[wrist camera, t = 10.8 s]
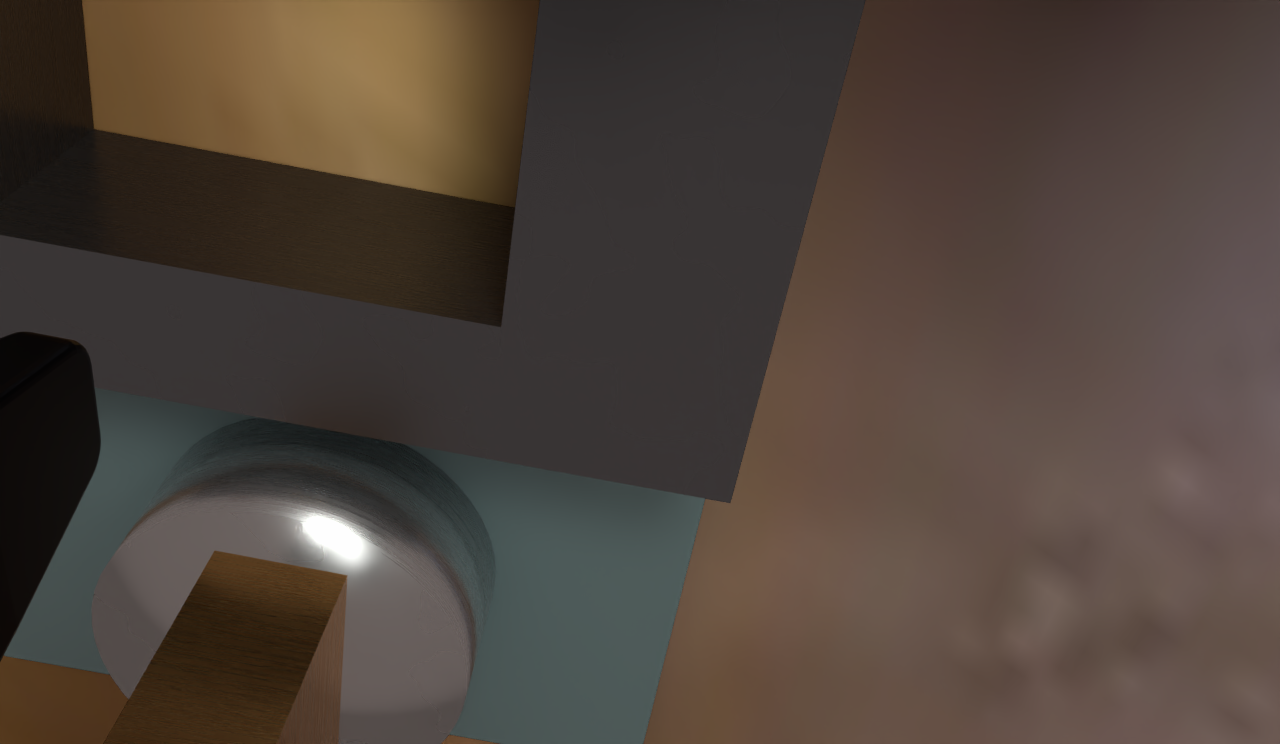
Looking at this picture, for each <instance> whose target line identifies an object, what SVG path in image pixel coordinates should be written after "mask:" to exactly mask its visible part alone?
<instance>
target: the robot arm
mask: <svg viewBox="0 0 1280 744" xmlns="http://www.w3.org/2000/svg"><path fill="white" fill-rule="evenodd" d="M100 449H101V433H100V426H99V418H98V410H97V402H96V394H95V387H94V379H93V371H92V364H91V360H90V356H89V354H88V352H87V350H86V348H85V347H84V346H83V345H81V344H80V343H79V342H77V341H75V340H71V339H65V338H60V337H55V336H49V335H44V334H39V333H33V332H16V333H13V334H10V335H7V336H4V337H2V338H0V661H1V659H2V657H3V656H4V654H5V652H6V650H7V648H8V646H9V644H10V642H11V641H12V639H13V637H14V635H15V633H16V631H17V629H18V627H19V625H20V623H21V621H22V619H23V617H24V615H25V613H26V611H27V609H28V607H29V605H30V603H31V601H32V599H33V597H34V595H35V593H36V591H37V589H38V587H39V584H40V582H41V580H42V578H43V576H44V574H45V572H46V570H47V568H48V566H49V564H50V562H51V560H52V558H53V556H54V554H55V552H56V550H57V548H58V546H59V544H60V542H61V540H62V538H63V536H64V534H65V532H66V530H67V528H68V526H69V524H70V521H71V519H72V517H73V515H74V513H75V511H76V509H77V507H78V505H79V503H80V501H81V499H82V497H83V495H84V493H85V491H86V489H87V487H88V485H89V483H90V481H91V479H92V477H93V474H94V472H95V470H96V467H97V464H98V460H99V455H100Z"/></svg>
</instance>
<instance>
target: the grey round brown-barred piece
mask: <svg viewBox="0 0 1280 744" xmlns="http://www.w3.org/2000/svg"><path fill="white" fill-rule="evenodd" d="M495 580H496V564H495V555H494V550H493V546H492V543H491V539H490V536H489V533H488V531H487V529H486V527H485V524H484V522H483V520H482V518H481V516H480V515H479V513H478V511H477V510H476V508H475V507H474V505H473V504H472V502H471V500H470V499H469V498H468V497H467V496H466V494H465V493H464V492H463V491H462V490H461V488H460V487H459V486H458V485H457V484H456V483H455V482H454V481H453V480H452V479H451V478H450V477H449V476H448V475H447V474H446V473H445V472H444V471H443V470H442V469H440V468H439V467H438V466H436V465H435V464H434V463H433V462H431V461H430V460H429V459H427V458H426V457H425V456H423V455H422V454H420V453H419V452H417V451H415V450H414V449H412V448H410V447H409V446H407V445H405V444H402V443H397V442H391V441H386V440H380V439H375V438H369V437H364V436H358V435H353V434H347V433H342V432H336V431H331V430H325V429H320V428H314V427H309V426H303V425H298V424H292V423H287V422H281V421H276V420H270V419H265V418H259V417H256V418H251V419H246V420H242V421H239V422H236V423H233V424H230V425H227V426H224V427H222V428H220V429H218V430H216V431H214V432H212V433H210V434H208V435H207V436H205V437H203V438H202V439H201V440H199V441H198V442H197V443H195V444H194V445H193V446H191V447H190V448H189V449H188V450H187V451H186V452H185V453H184V454H183V455H182V456H181V457H180V458H179V460H178V461H177V462H176V464H175V465H174V467H173V468H172V470H171V471H170V473H169V474H168V476H167V477H166V478H165V480H164V481H163V483H162V484H161V486H160V487H159V489H158V490H157V492H156V493H155V495H154V496H153V498H152V499H151V500H150V502H149V503H148V505H147V506H146V508H145V509H144V511H143V512H142V514H141V515H140V517H139V518H138V520H137V521H136V523H135V524H134V525H133V527H132V528H131V530H130V531H129V533H128V534H127V536H126V537H125V539H124V540H123V542H122V543H121V545H120V546H119V548H118V549H117V550H116V552H115V553H114V555H113V556H112V558H111V559H110V561H109V562H108V564H107V565H106V567H105V568H104V570H103V572H102V573H101V575H100V577H99V580H98V582H97V585H96V587H95V590H94V595H93V601H92V607H91V611H92V628H93V633H94V638H95V643H96V645H97V648H98V651H99V654H100V656H101V659H102V661H103V663H104V665H105V666H106V668H107V670H108V672H109V674H110V676H111V677H112V679H113V680H114V681H115V683H116V684H117V686H118V687H119V688H120V690H121V691H122V692H123V694H124V695H125V696H126V697H127V698H128V699H129V700H128V702H127V703H126V705H125V707H124V709H123V710H122V712H121V714H120V716H119V717H118V719H117V721H116V723H115V724H114V726H113V728H112V730H111V731H110V733H109V735H108V736H107V738H106V740H105V742H104V743H103V744H441V743H442V742H443V741H444V740H445V739H446V738H447V736H448V735H449V734H450V732H451V731H452V729H453V728H454V726H455V725H456V723H457V721H458V719H459V716H460V714H461V712H462V710H463V706H464V702H465V699H466V695H467V691H468V687H469V684H470V680H471V676H472V672H473V669H474V665H475V661H476V657H477V653H478V650H479V646H480V642H481V638H482V635H483V631H484V627H485V623H486V620H487V616H488V612H489V608H490V605H491V601H492V597H493V592H494V588H495Z"/></svg>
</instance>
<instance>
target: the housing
mask: <svg viewBox="0 0 1280 744" xmlns="http://www.w3.org/2000/svg"><path fill="white" fill-rule="evenodd" d="M865 1H866V0H540V3H539V12H538V20H537V29H536V37H535V46H534V54H533V62H532V71H531V79H530V88H529V96H528V105H527V113H526V122H525V130H524V139H523V147H522V156H521V164H520V172H519V181H518V189H517V198H516V206H515V208H512V207H507V206H502V205H496V204H491V203H486V202H480V201H475V200H469V199H464V198H459V197H453V196H448V195H443V194H437V193H432V192H427V191H421V190H416V189H411V188H405V187H400V186H394V185H389V184H384V183H378V182H373V181H368V180H362V179H357V178H352V177H346V176H341V175H336V174H330V173H325V172H319V171H314V170H309V169H303V168H298V167H293V166H287V165H282V164H277V163H271V162H266V161H261V160H255V159H250V158H245V157H239V156H234V155H228V154H223V153H218V152H212V151H207V150H202V149H196V148H191V147H186V146H180V145H175V144H170V143H164V142H159V141H153V140H148V139H143V138H137V137H132V136H127V135H121V134H116V133H111V132H105V131H100V130H95V129H93V119H92V108H91V97H90V87H89V76H88V65H87V55H86V44H85V34H84V23H83V12H82V2H81V0H0V338H2V337H4V336H7V335H10V334H13V333H16V332H33V333H39V334H44V335H49V336H55V337H60V338H65V339H71V340H75V341H77V342H79V343H80V344H81V345H83V346H84V347H85V348H86V350H87V352H88V354H89V356H90V360H91V364H92V371H93V379H94V387H95V388H100V389H105V390H111V391H116V392H122V393H127V394H133V395H138V396H144V397H149V398H155V399H160V400H166V401H171V402H177V403H182V404H188V405H193V406H199V407H204V408H210V409H215V410H221V411H226V412H232V413H237V414H243V415H248V416H254V417H259V418H265V419H270V420H276V421H281V422H287V423H292V424H298V425H303V426H309V427H314V428H320V429H325V430H331V431H336V432H342V433H347V434H353V435H358V436H364V437H369V438H375V439H380V440H386V441H391V442H397V443H402V444H408V445H413V446H419V447H424V448H430V449H435V450H441V451H446V452H452V453H457V454H463V455H468V456H474V457H479V458H485V459H490V460H496V461H501V462H507V463H512V464H518V465H523V466H529V467H534V468H540V469H545V470H551V471H556V472H562V473H567V474H573V475H578V476H584V477H589V478H595V479H600V480H606V481H611V482H617V483H622V484H628V485H633V486H639V487H644V488H650V489H655V490H661V491H666V492H672V493H677V494H683V495H688V496H694V497H699V498H705V499H710V500H716V501H721V502H727V503H730V502H731V499H732V495H733V491H734V488H735V484H736V480H737V476H738V473H739V469H740V465H741V462H742V458H743V454H744V450H745V447H746V443H747V439H748V436H749V432H750V428H751V424H752V421H753V417H754V413H755V410H756V406H757V402H758V398H759V395H760V391H761V387H762V383H763V380H764V376H765V372H766V369H767V365H768V361H769V357H770V354H771V350H772V346H773V343H774V339H775V335H776V331H777V328H778V324H779V320H780V317H781V313H782V309H783V305H784V302H785V298H786V294H787V291H788V287H789V283H790V279H791V276H792V272H793V268H794V265H795V261H796V257H797V253H798V250H799V246H800V242H801V238H802V235H803V231H804V227H805V224H806V220H807V216H808V212H809V209H810V205H811V201H812V198H813V194H814V190H815V186H816V183H817V179H818V175H819V172H820V168H821V164H822V160H823V157H824V153H825V149H826V146H827V142H828V138H829V134H830V131H831V127H832V123H833V120H834V116H835V112H836V108H837V105H838V101H839V97H840V93H841V90H842V86H843V82H844V79H845V75H846V71H847V67H848V64H849V60H850V56H851V53H852V49H853V45H854V41H855V38H856V34H857V30H858V27H859V23H860V19H861V15H862V12H863V8H864V4H865Z"/></svg>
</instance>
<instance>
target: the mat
mask: <svg viewBox="0 0 1280 744" xmlns="http://www.w3.org/2000/svg"><path fill="white" fill-rule="evenodd" d="M95 394H96V402H97V410H98V418H99V426H100V433H101V449H100V455H99V460H98V464H97V467H96V470H95V472H94V474H93V477H92V479H91V481H90V483H89V485H88V487H87V489H86V491H85V493H84V495H83V497H82V499H81V501H80V503H79V505H78V507H77V509H76V511H75V513H74V515H73V517H72V519H71V521H70V524H69V526H68V528H67V530H66V532H65V534H64V536H63V538H62V540H61V542H60V544H59V546H58V548H57V550H56V552H55V554H54V556H53V558H52V560H51V562H50V564H49V566H48V568H47V570H46V572H45V574H44V576H43V578H42V580H41V582H40V584H39V587H38V589H37V591H36V593H35V595H34V597H33V599H32V601H31V603H30V605H29V607H28V609H27V611H26V613H25V615H24V617H23V619H22V621H21V623H20V625H19V627H18V629H17V631H16V633H15V635H14V637H13V639H12V641H11V642H10V644H9V646H8V648H7V650H6V652H5V654H4V656H8V657H13V658H19V659H25V660H30V661H36V662H42V663H47V664H53V665H59V666H64V667H70V668H76V669H81V670H87V671H93V672H98V673H104V674H109V672H108V670H107V668H106V666H105V665H104V663H103V661H102V659H101V656H100V654H99V651H98V648H97V645H96V643H95V638H94V633H93V628H92V611H91V607H92V601H93V595H94V590H95V587H96V585H97V582H98V580H99V577H100V575H101V573H102V572H103V570H104V568H105V567H106V565H107V564H108V562H109V561H110V559H111V558H112V556H113V555H114V553H115V552H116V550H117V549H118V548H119V546H120V545H121V543H122V542H123V540H124V539H125V537H126V536H127V534H128V533H129V531H130V530H131V528H132V527H133V525H134V524H135V523H136V521H137V520H138V518H139V517H140V515H141V514H142V512H143V511H144V509H145V508H146V506H147V505H148V503H149V502H150V500H151V499H152V498H153V496H154V495H155V493H156V492H157V490H158V489H159V487H160V486H161V484H162V483H163V481H164V480H165V478H166V477H167V476H168V474H169V473H170V471H171V470H172V468H173V467H174V465H175V464H176V462H177V461H178V460H179V458H180V457H181V456H182V455H183V454H184V453H185V452H186V451H187V450H188V449H189V448H190V447H191V446H193V445H194V444H195V443H197V442H198V441H199V440H201V439H202V438H203V437H205V436H207V435H208V434H210V433H212V432H214V431H216V430H218V429H220V428H222V427H224V426H227V425H230V424H233V423H236V422H239V421H242V420H246V419H251V418H256V417H254V416H248V415H243V414H237V413H232V412H226V411H221V410H215V409H210V408H204V407H199V406H193V405H188V404H182V403H177V402H171V401H166V400H160V399H155V398H149V397H144V396H138V395H133V394H127V393H122V392H116V391H111V390H105V389H100V388H95ZM405 445H407V446H409V447H410V448H412V449H414V450H415V451H417V452H419V453H420V454H422V455H423V456H425V457H426V458H427V459H429V460H430V461H431V462H433V463H434V464H435V465H436V466H438V467H439V468H440V469H442V470H443V471H444V472H445V473H446V474H447V475H448V476H449V477H450V478H451V479H452V480H453V481H454V482H455V483H456V484H457V485H458V486H459V487H460V488H461V490H462V491H463V492H464V493H465V494H466V496H467V497H468V498H469V499H470V500H471V502H472V504H473V505H474V507H475V508H476V510H477V511H478V513H479V515H480V516H481V518H482V520H483V522H484V524H485V527H486V529H487V531H488V533H489V536H490V539H491V543H492V546H493V550H494V555H495V564H496V580H495V588H494V592H493V597H492V601H491V605H490V608H489V612H488V616H487V620H486V623H485V627H484V631H483V635H482V638H481V642H480V646H479V650H478V653H477V657H476V661H475V665H474V669H473V672H472V676H471V680H470V684H469V687H468V691H467V695H466V699H465V702H464V706H463V710H462V712H461V714H460V716H459V719H458V721H457V723H456V725H455V726H454V728H453V729H452V731H451V732H450V734H449V735H455V736H461V737H466V738H472V739H478V740H483V741H489V742H495V743H500V744H643V742H644V738H645V734H646V730H647V726H648V723H649V719H650V715H651V711H652V707H653V703H654V699H655V695H656V691H657V687H658V683H659V679H660V675H661V671H662V667H663V663H664V659H665V655H666V651H667V647H668V644H669V640H670V636H671V632H672V628H673V624H674V620H675V616H676V612H677V608H678V604H679V600H680V596H681V592H682V588H683V584H684V580H685V576H686V572H687V568H688V564H689V561H690V557H691V553H692V549H693V545H694V541H695V537H696V533H697V529H698V525H699V521H700V517H701V513H702V509H703V505H704V501H705V498H699V497H694V496H688V495H683V494H677V493H672V492H666V491H661V490H655V489H650V488H644V487H639V486H633V485H628V484H622V483H617V482H611V481H606V480H600V479H595V478H589V477H584V476H578V475H573V474H567V473H562V472H556V471H551V470H545V469H540V468H534V467H529V466H523V465H518V464H512V463H507V462H501V461H496V460H490V459H485V458H479V457H474V456H468V455H463V454H457V453H452V452H446V451H441V450H435V449H430V448H424V447H419V446H413V445H408V444H405Z"/></svg>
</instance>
